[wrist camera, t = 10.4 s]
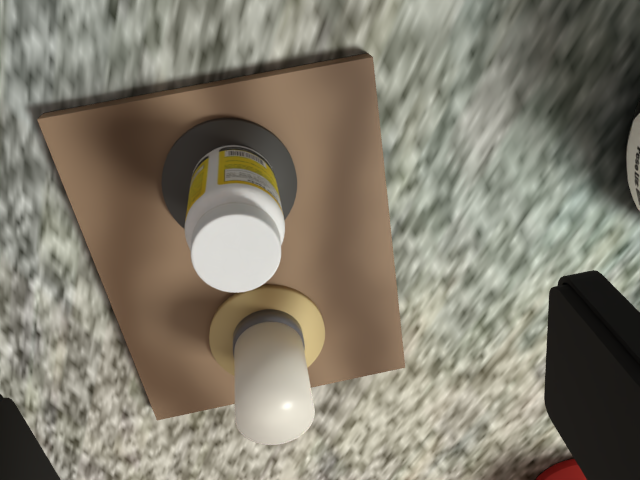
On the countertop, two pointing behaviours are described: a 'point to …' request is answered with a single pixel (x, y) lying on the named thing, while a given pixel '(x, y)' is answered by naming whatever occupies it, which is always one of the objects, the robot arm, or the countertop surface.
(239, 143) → the pin board
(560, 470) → the canned food
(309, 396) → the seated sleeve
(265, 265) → the supplement bottle
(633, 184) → the milk container
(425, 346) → the countertop surface
